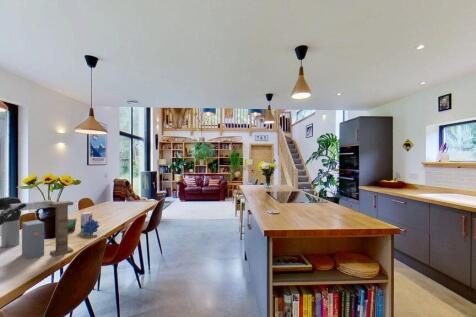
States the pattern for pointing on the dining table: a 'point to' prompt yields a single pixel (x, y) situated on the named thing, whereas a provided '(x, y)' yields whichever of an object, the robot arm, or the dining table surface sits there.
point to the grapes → (90, 227)
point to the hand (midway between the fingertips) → (24, 204)
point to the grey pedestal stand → (61, 228)
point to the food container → (71, 224)
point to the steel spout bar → (32, 205)
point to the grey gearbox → (32, 239)
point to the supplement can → (85, 218)
